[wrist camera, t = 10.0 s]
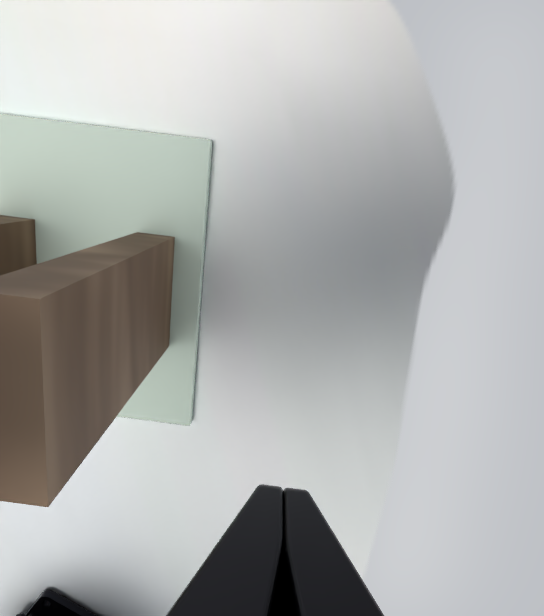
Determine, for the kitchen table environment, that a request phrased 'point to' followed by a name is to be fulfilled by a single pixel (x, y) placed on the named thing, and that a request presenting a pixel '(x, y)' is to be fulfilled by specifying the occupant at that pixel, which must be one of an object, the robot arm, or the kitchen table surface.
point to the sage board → (118, 221)
